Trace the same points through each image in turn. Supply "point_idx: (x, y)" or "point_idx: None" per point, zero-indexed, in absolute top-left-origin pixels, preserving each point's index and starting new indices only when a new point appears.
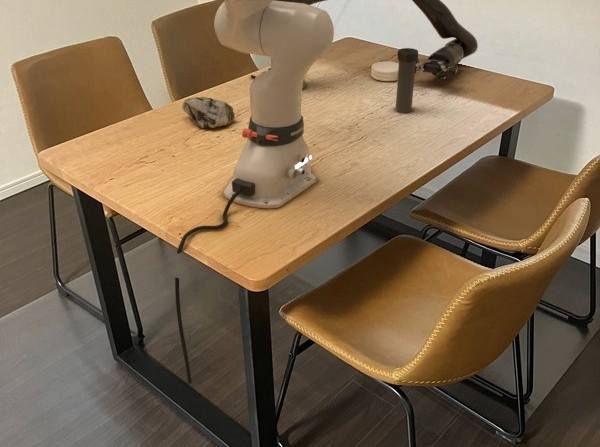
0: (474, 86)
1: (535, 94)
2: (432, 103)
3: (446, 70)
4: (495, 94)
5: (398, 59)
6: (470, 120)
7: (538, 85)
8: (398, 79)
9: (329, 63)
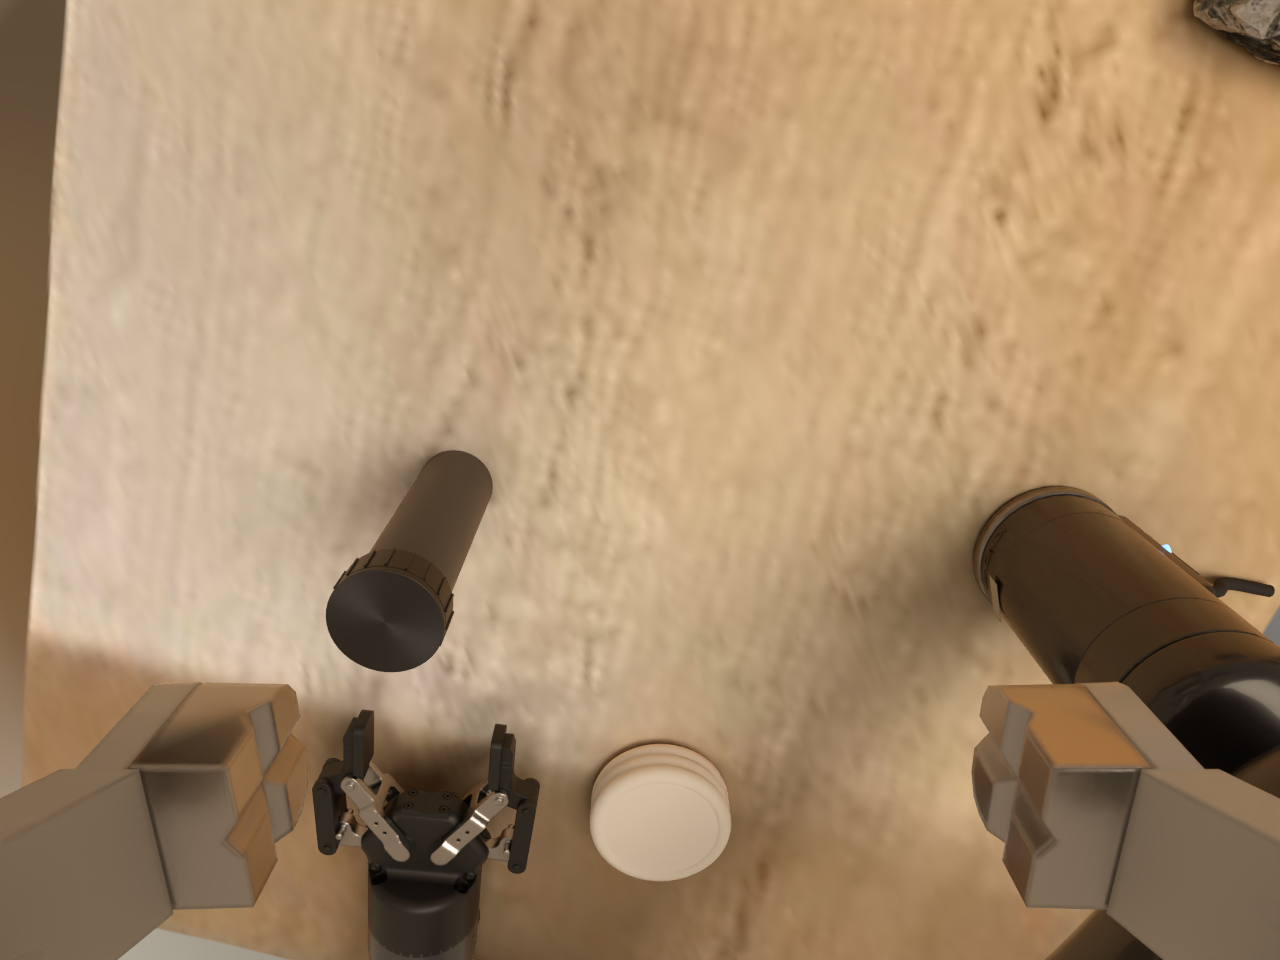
0: None
1: None
2: None
3: (341, 782)
4: None
5: (435, 567)
6: (158, 482)
7: None
8: (452, 523)
9: (951, 856)
